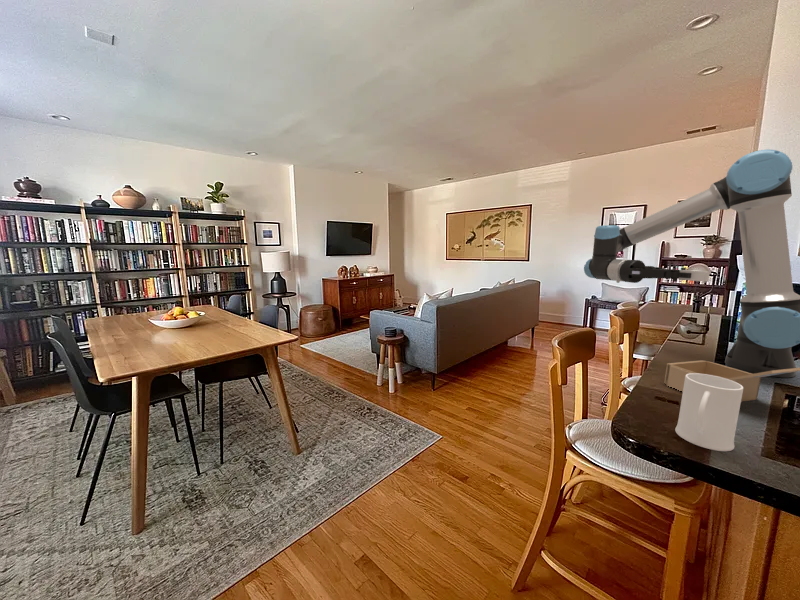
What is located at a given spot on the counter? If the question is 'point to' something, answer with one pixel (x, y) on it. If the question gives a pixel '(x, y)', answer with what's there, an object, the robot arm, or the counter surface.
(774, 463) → the counter surface
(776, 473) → the counter surface
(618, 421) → the counter surface
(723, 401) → the mug
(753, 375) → the flap
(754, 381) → the carton
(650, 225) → the robot arm
